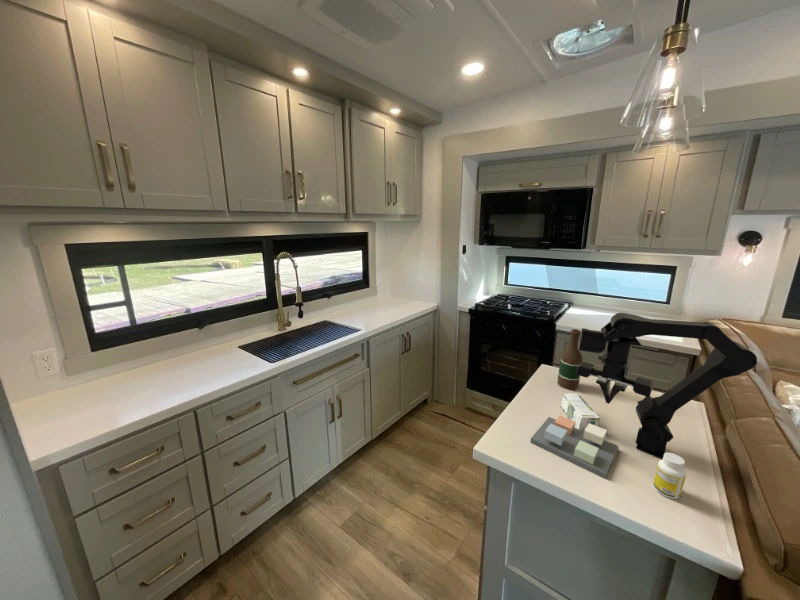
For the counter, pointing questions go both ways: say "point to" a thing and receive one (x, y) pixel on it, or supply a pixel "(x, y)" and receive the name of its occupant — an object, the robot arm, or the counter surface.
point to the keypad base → (569, 445)
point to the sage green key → (586, 452)
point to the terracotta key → (565, 424)
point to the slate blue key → (555, 434)
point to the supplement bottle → (670, 476)
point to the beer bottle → (570, 363)
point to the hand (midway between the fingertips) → (607, 402)
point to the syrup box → (578, 411)
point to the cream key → (595, 434)
